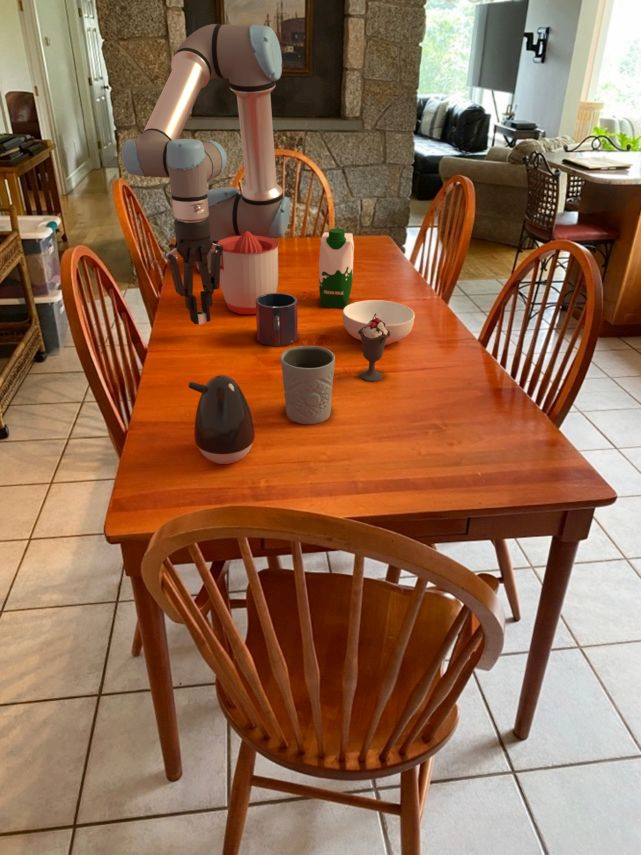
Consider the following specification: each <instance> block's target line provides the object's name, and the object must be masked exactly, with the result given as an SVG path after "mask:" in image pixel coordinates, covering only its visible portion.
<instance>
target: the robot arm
mask: <svg viewBox="0 0 641 855" xmlns="http://www.w3.org/2000/svg"><path fill="white" fill-rule="evenodd" d="M282 64H283V58H282V50H281V45H280V41H279V39H278V37H277V35H276V32H275V30H274V29H273V28H272V27H270V26H268V25H259V24H255V23H252V24H251V23H249V24H247V23H246V24H244V23H243V24H238V23H237V24H220V23H211V24H207V25H204V26H202V27H200V28H198V29H196V30H195V31H194V32H192V33H191V34H189V36H187V37H186V38H185V39H184V40H183V41H182V42H181V43H180V44H179V46H178V48H177V49H176V51H175V53H174V54H173V56H172V59H171V62H170V67H171V72H170V74H169V76H168V78H167V80H166V83H165V84H164V87H163V89H162V91H161V93H160V95H159V96H158V100H157V101H156V104H155V106H154V108H153V110H152V112H151V114H150V116H149V119H148V121H147V123H146V125H145V127H144V130H143V131H142V132H141V135H140V137H139V139H138V138H132V139H127V140H125V141H124V143H123V144H122V148H121V162H122V165H123V167H124V169H125V171H126V172H127V173H128V174H129V175H131V176H138V177H144V178H147V177H148V178H165V179H166V178H169V185H170V186H169V187H170V193H171V194H170V196H171V197H170V198H171V207H172V217H173V218H174V220H173V227H174V236H175V243H169V245H168V248H169V249H171V248H173V249H171V250H170V251H165V252H164V257H165V258H166V260H167V261H168V265H169V269H170V272H171V277H172V282H173V286H174V289H175V293H176V294H178V295H179V296H180V297H184V302H185V303H184V304H185V308H186V310H188V311H189V319H190V322H192V323H193V324H194V325H199V324H198V313H197V312H198V305H197V304H198V302H197V296H196V295H194V293H193V292H194V268H195V263H196V270H197V271H198V272H199V275H200V279H201V280H200V281H201V285H202V291H199V292H200V305H201V311H203V312H204V313H206V317H207V323H208V322H211V311H210V310H211V309H210V307H212V306H213V303H214V302H213V295H214V293H215V290H219V289H220V261H221V255H222V252H223V247H222V246H221V245H219V244H217V243H218V242H219V241H220V240H222V239H225V238H229V237H234V236H242V235H243V234H244V233H245V232H246V231H248V232H250V233H251V234H252V235H253V236H264V237H269V238H272V239H281V238H283V237H284V235H285V234H286V231H287V229H288V227H289V226H288V225H289V222H290V216H291V199H290V198H289V197H288V196H284V190H283V188H282V186H280V185H279V184H278V183H277V181H278V180H277V170H276V167H277V166H276V154H275V153H276V152H275V142H274V141H275V140H274V127H273V126H274V125H273V115H272V114H273V113H272V112H273V111H272V99H271V97H272V96H271V93H272V92H273V90H274V89H275V88H276V81H278V80H280V79H281V76H282V71H283V66H282ZM212 79H228V82H229V89H230V91H232V92H233V93H234V94H235V95H236V101H237V111H238V120H239V131H240V139H241V149H242V159H243V168H244V178H245V179H244V180H245V186H244V187H243V189H242V190H241V193H240V191H239V189H238V188H237V187H233V186H224V187H223V186H221V187H216V188H215V187H214V188H211V189H208V183H207V182H209V181H210V180H212V179H215V178H217V177H219V176H220V175H221V173H222V172H224V170H225V169H226V166H227V162H228V156H227V153H226V151H225V149H224V147H223V146H222V145H221V144H220V143H218V142H216V141H214V140H211V139H210V140H202V141H201V140H200V139H195V138H180V137H181V134H182V132H183V130H184V128H185V125H186V123H187V121H188V118H189V117H190V114H191V112H192V110H193V107H194V105H195V103H196V100H197V98H198V96H199V93H200V92H201V89H203V88H205V87H206V86H207V85H208V83H209V81H210V80H212ZM178 255H179V256H180V257H181V258H182V264H183V277H182V275H181V271H180V270H181V269H180V265H179V262H178V260H179V257H178Z"/></svg>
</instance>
